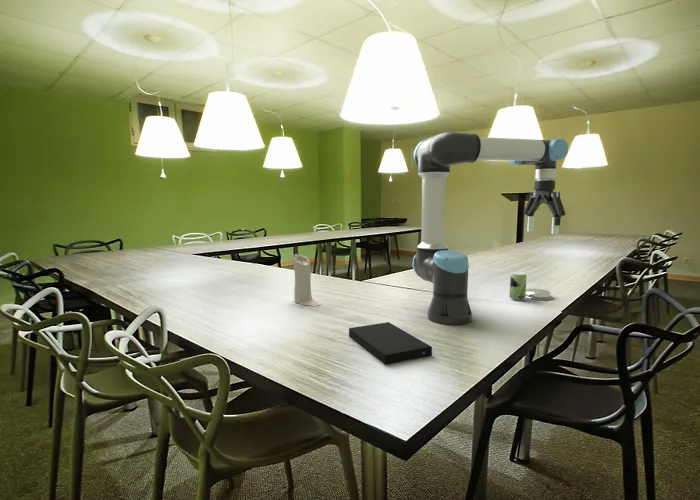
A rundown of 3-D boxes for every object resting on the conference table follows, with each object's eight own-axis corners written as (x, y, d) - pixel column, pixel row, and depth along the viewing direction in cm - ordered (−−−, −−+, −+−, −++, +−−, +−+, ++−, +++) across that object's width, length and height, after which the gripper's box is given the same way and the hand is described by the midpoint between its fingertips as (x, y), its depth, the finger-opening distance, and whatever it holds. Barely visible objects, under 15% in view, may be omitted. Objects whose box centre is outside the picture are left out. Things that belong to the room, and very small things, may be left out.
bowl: (535, 301, 156) (535, 295, 156) (515, 294, 168) (515, 289, 167) (559, 299, 159) (559, 293, 159) (538, 292, 171) (538, 287, 171)
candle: (310, 307, 150) (309, 257, 148) (291, 300, 161) (289, 253, 158) (324, 304, 155) (324, 255, 153) (305, 298, 165) (304, 252, 163)
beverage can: (522, 297, 163) (523, 270, 161) (528, 302, 155) (529, 273, 154) (506, 297, 163) (508, 269, 162) (512, 301, 156) (513, 273, 155)
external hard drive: (389, 331, 123) (389, 322, 123) (432, 357, 102) (432, 346, 102) (349, 337, 118) (348, 328, 117) (385, 366, 97) (385, 355, 96)
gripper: (578, 178, 143) (574, 234, 146) (530, 181, 167) (528, 230, 170) (561, 178, 141) (558, 235, 144) (516, 181, 165) (514, 230, 168)
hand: (542, 232), depth 157 cm, fingers open, 13 cm apart
